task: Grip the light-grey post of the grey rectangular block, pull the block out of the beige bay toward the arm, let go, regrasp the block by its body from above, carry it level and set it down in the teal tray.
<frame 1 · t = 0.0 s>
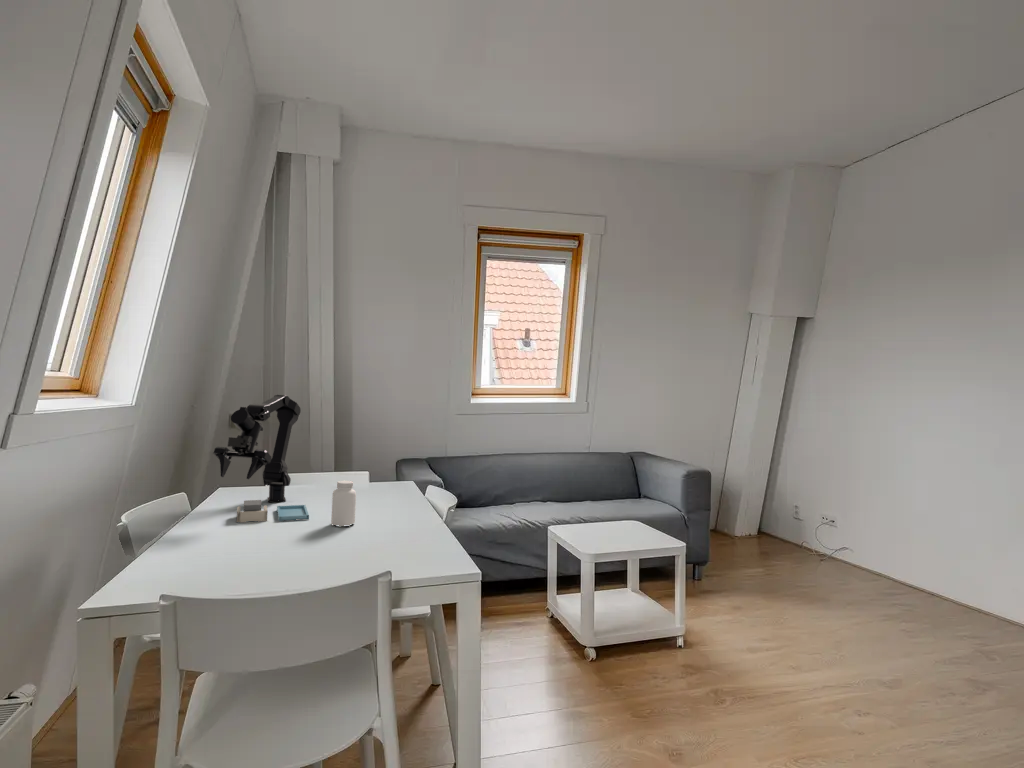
hand: (234, 477, 204), 15 cm above the table, tool tilted 35°, fingers open, 9 cm apart
tray: (292, 514, 216), on the table
bay: (252, 518, 208), on the table
grey rectangular block: (252, 518, 209), on the table
pill bottle: (343, 525, 207), on the table
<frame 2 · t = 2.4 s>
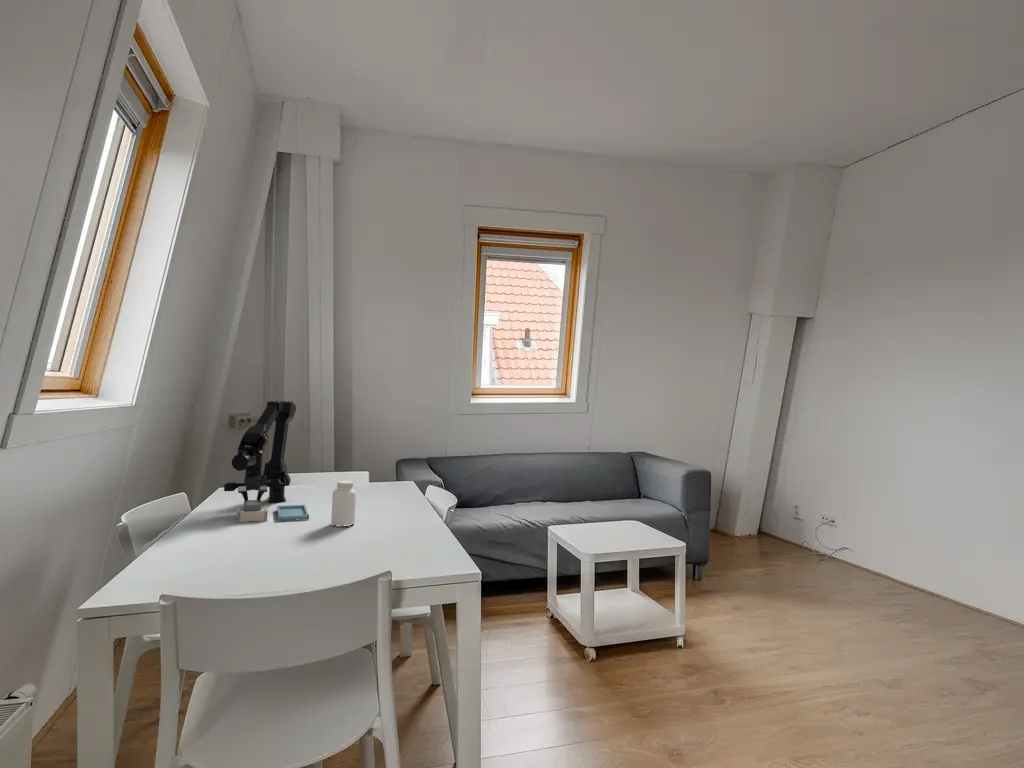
hand: (252, 508, 215), 2 cm above the table, tool pointing down, fingers closed on grey rectangular block, 2 cm apart
grey rectangular block: (252, 518, 209), on the table, touching gripper
everything else where it was.
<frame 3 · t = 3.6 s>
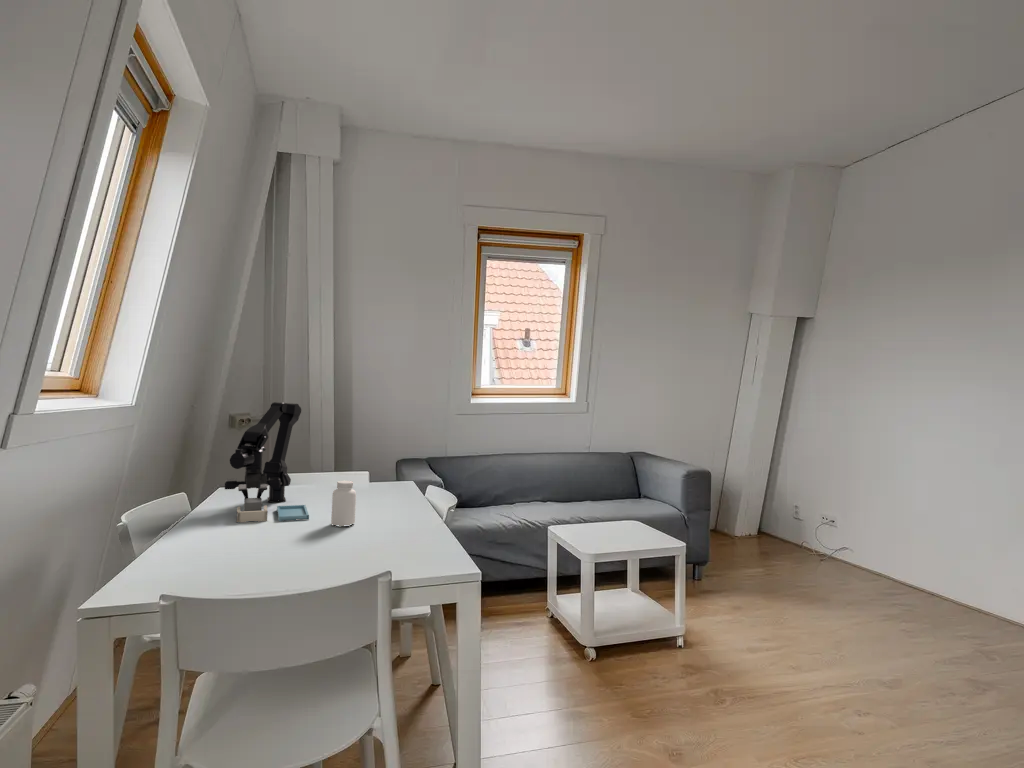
hand: (252, 506, 219), 1 cm above the table, tool pointing down, fingers closed on grey rectangular block, 2 cm apart
grey rectangular block: (252, 515, 212), on the table, touching gripper
everything else where it was.
when the fingers open (1 cm above the table, at t = 4.5 s): grey rectangular block stays where it is, on the table.
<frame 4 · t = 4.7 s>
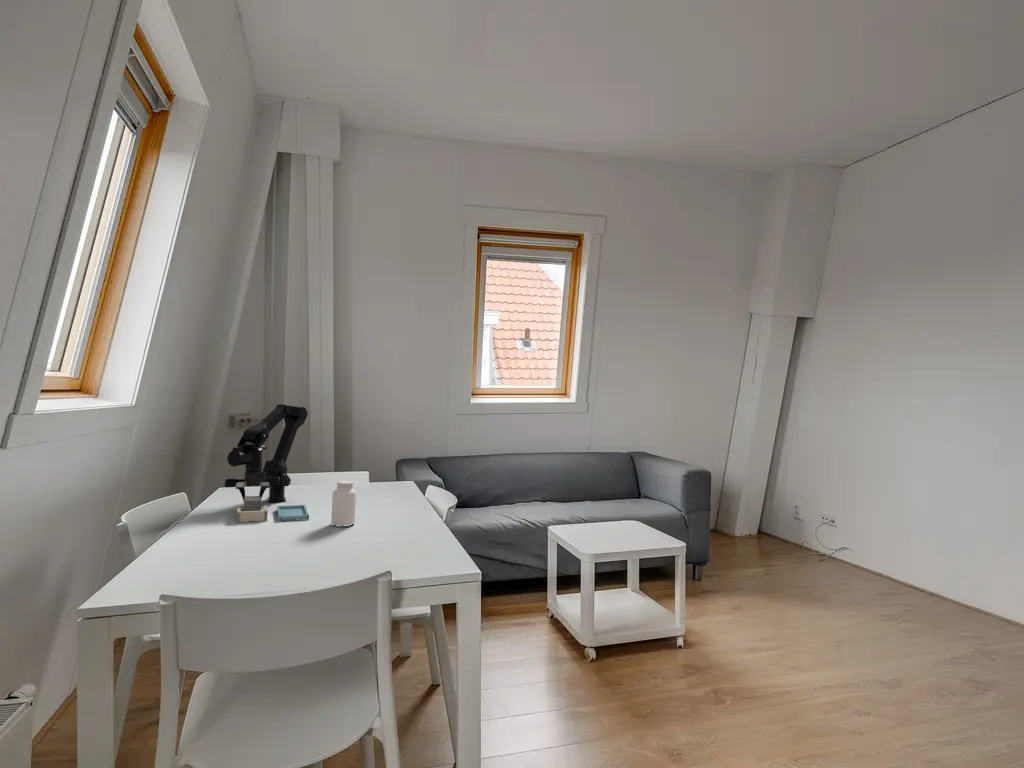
hand: (252, 504, 222), 1 cm above the table, tool pointing down, fingers open, 4 cm apart
grey rectangular block: (252, 513, 215), on the table
everything else where it was.
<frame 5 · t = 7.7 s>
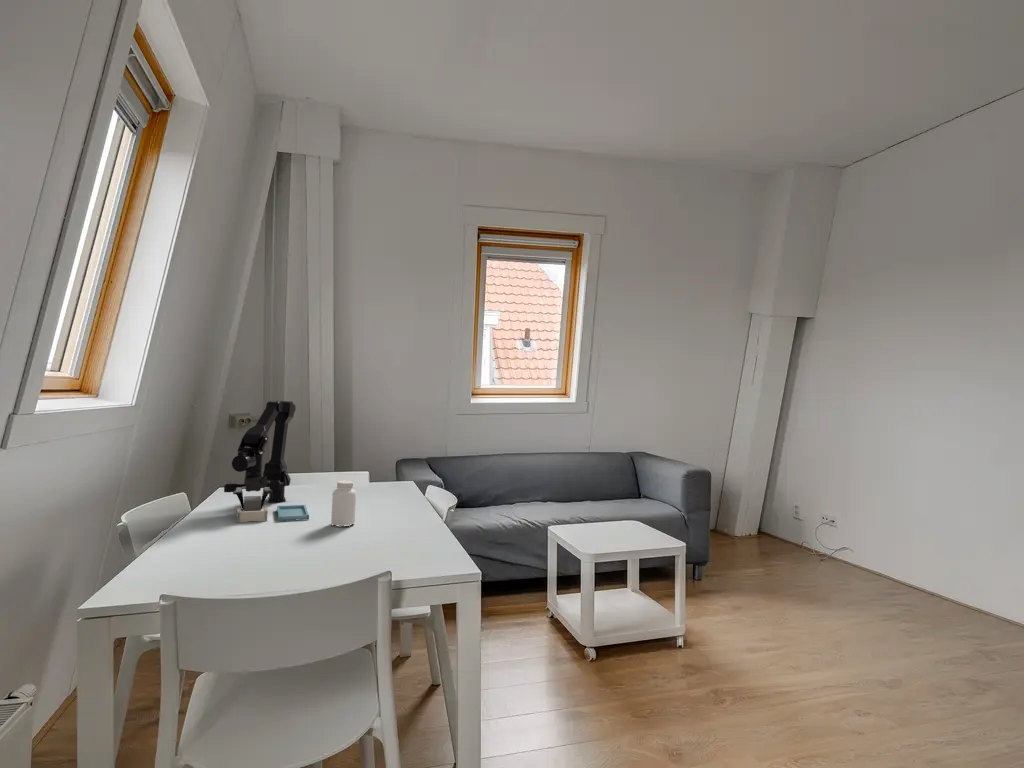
hand: (252, 509, 215), 1 cm above the table, tool pointing down, fingers closed on grey rectangular block, 6 cm apart
grey rectangular block: (252, 513, 215), on the table, touching gripper
everything else where it was.
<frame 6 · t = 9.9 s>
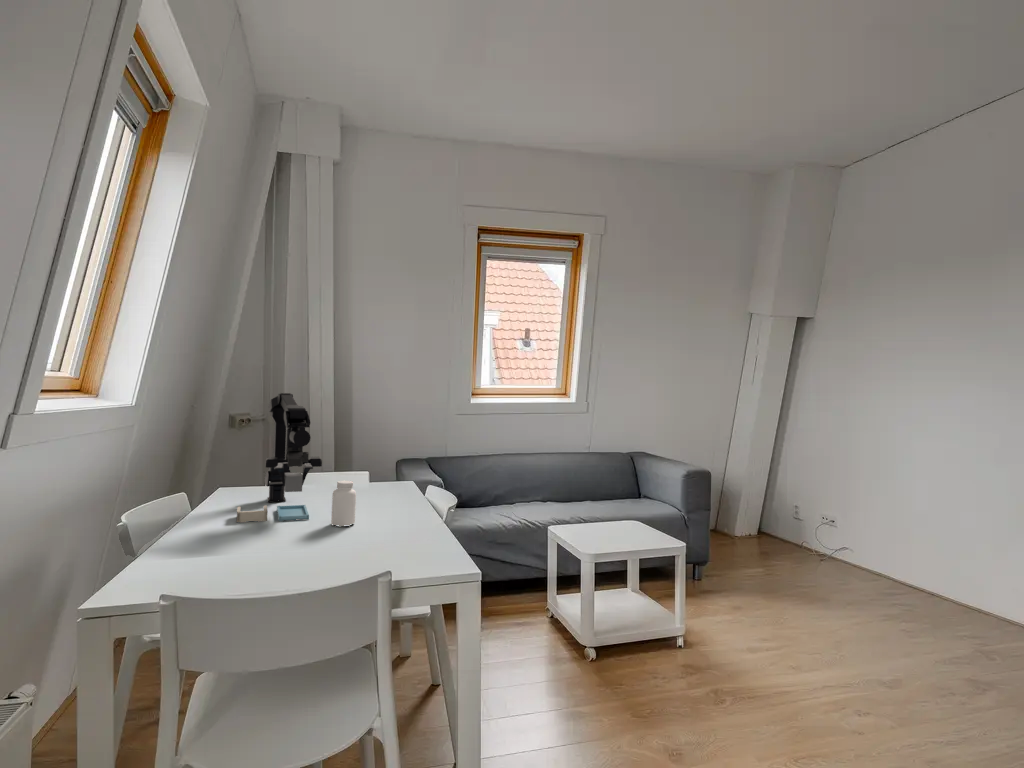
hand: (293, 485, 213), 11 cm above the table, tool pointing down, fingers closed on grey rectangular block, 6 cm apart
grey rectangular block: (292, 489, 212), point 10 cm above the table, touching gripper
everything else where it was.
when the fingers open (3 cm above the table, at t = 11.9 s): grey rectangular block drops 1 cm, resting on tray.
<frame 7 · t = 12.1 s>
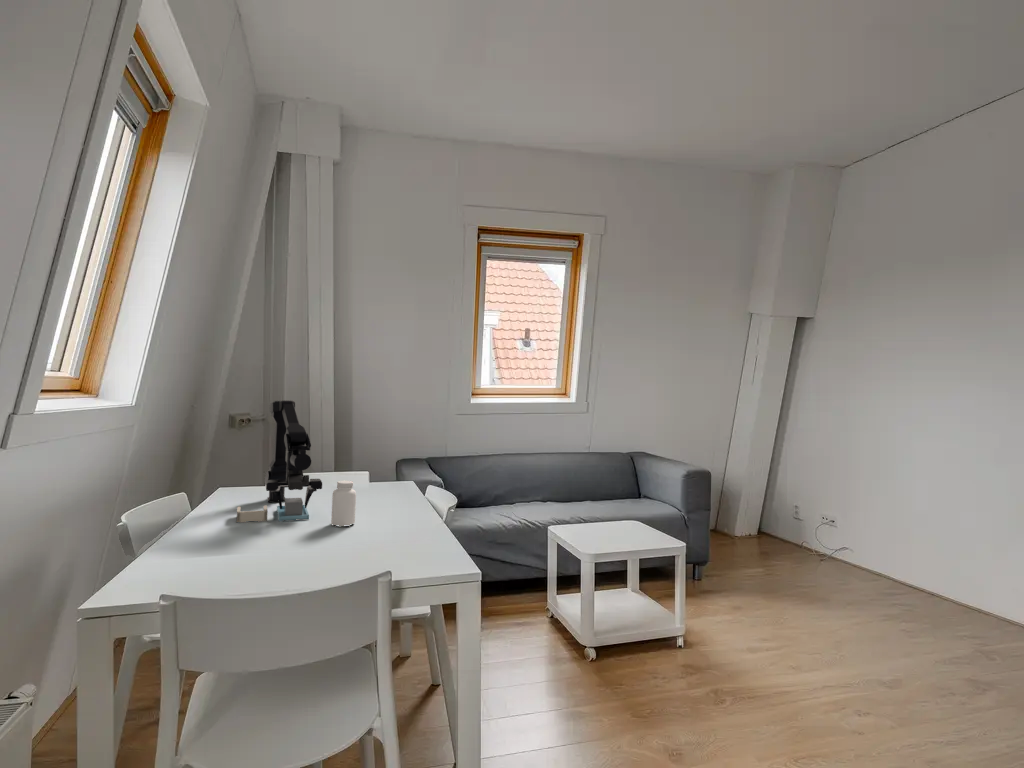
hand: (293, 508, 213), 3 cm above the table, tool pointing down, fingers open, 8 cm apart
grey rectangular block: (293, 515, 213), point 1 cm above the table, touching tray
everything else where it was.
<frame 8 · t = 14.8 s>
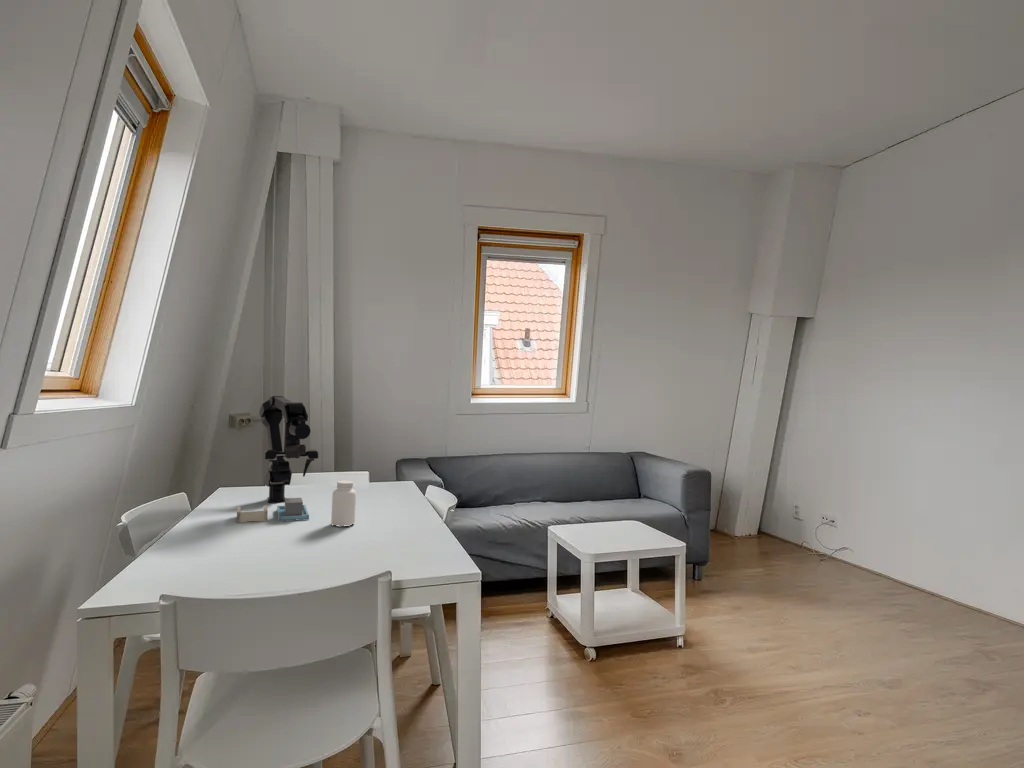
hand: (290, 476, 224), 12 cm above the table, tool pointing down, fingers open, 9 cm apart
nothing on the table moved.
at the end: grey rectangular block inside the target area on the tray (1.9 cm from its centre), point 0.6 cm above the tray's base; grey rectangular block tilted 0°; the gripper is holding nothing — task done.
